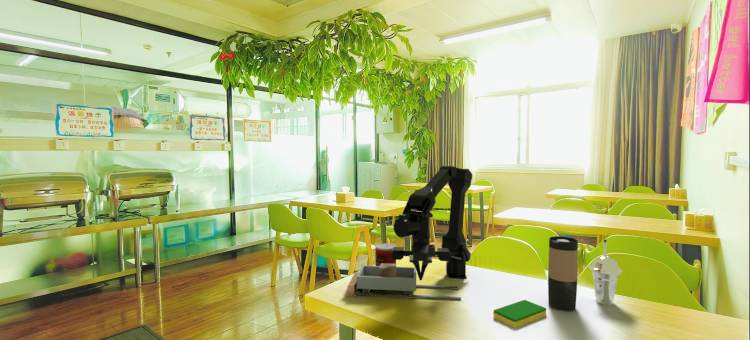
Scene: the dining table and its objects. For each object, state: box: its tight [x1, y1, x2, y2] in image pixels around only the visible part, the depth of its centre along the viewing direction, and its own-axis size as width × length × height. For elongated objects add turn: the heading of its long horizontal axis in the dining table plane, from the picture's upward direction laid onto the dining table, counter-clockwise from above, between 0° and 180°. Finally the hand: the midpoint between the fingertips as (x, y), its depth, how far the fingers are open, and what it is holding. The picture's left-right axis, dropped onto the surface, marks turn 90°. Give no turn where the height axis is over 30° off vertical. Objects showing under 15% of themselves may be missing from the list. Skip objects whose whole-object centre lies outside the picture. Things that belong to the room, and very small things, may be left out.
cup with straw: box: [588, 239, 623, 306], centre depth 109 cm, size 8×9×20 cm
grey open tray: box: [357, 264, 417, 295], centre depth 118 cm, size 19×12×6 cm, turn 83°
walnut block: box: [379, 263, 397, 277], centre depth 118 cm, size 5×5×5 cm
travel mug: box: [547, 235, 579, 312], centre depth 106 cm, size 8×8×20 cm
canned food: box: [374, 243, 397, 266], centre depth 133 cm, size 8×8×11 cm
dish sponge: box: [493, 299, 547, 328], centre depth 100 cm, size 7×14×2 cm, turn 122°
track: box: [347, 271, 462, 301], centre depth 118 cm, size 35×13×4 cm, turn 83°
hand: (420, 280), depth 117 cm, fingers closed
